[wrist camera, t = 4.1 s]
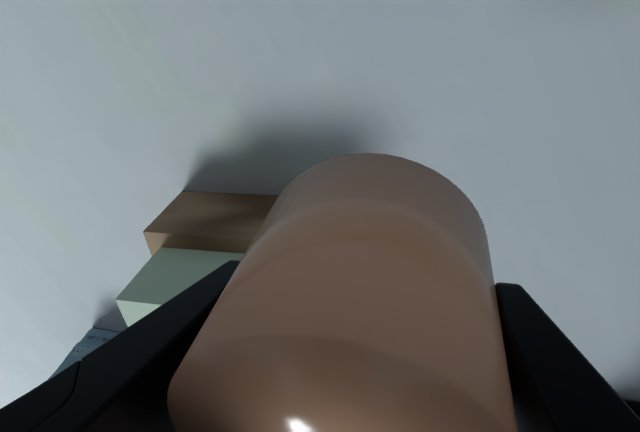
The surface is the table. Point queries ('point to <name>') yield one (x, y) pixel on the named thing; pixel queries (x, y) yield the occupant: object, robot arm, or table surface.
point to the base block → (209, 222)
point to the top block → (167, 279)
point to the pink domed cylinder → (354, 313)
